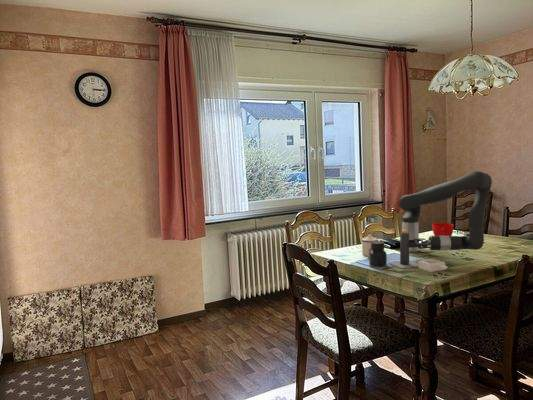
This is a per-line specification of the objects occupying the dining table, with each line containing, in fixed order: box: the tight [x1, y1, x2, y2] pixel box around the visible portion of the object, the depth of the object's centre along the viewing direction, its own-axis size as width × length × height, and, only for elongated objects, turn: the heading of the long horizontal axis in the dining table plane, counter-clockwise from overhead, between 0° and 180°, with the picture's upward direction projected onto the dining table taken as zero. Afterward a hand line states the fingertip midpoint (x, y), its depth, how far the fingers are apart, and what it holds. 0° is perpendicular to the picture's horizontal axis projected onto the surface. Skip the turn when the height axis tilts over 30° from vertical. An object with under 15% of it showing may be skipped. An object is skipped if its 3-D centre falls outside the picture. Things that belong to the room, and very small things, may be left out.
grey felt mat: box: [388, 260, 418, 270], centre depth 215 cm, size 12×12×1 cm
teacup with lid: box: [361, 234, 379, 257], centre depth 241 cm, size 12×9×12 cm
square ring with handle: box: [417, 258, 448, 273], centre depth 203 cm, size 15×9×4 cm, turn 18°
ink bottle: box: [368, 240, 388, 268], centre depth 217 cm, size 10×9×12 cm
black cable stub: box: [399, 229, 410, 265], centre depth 215 cm, size 4×4×18 cm
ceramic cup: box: [431, 222, 454, 236], centre depth 273 cm, size 13×17×10 cm
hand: (406, 243), depth 214 cm, fingers open, 8 cm apart
